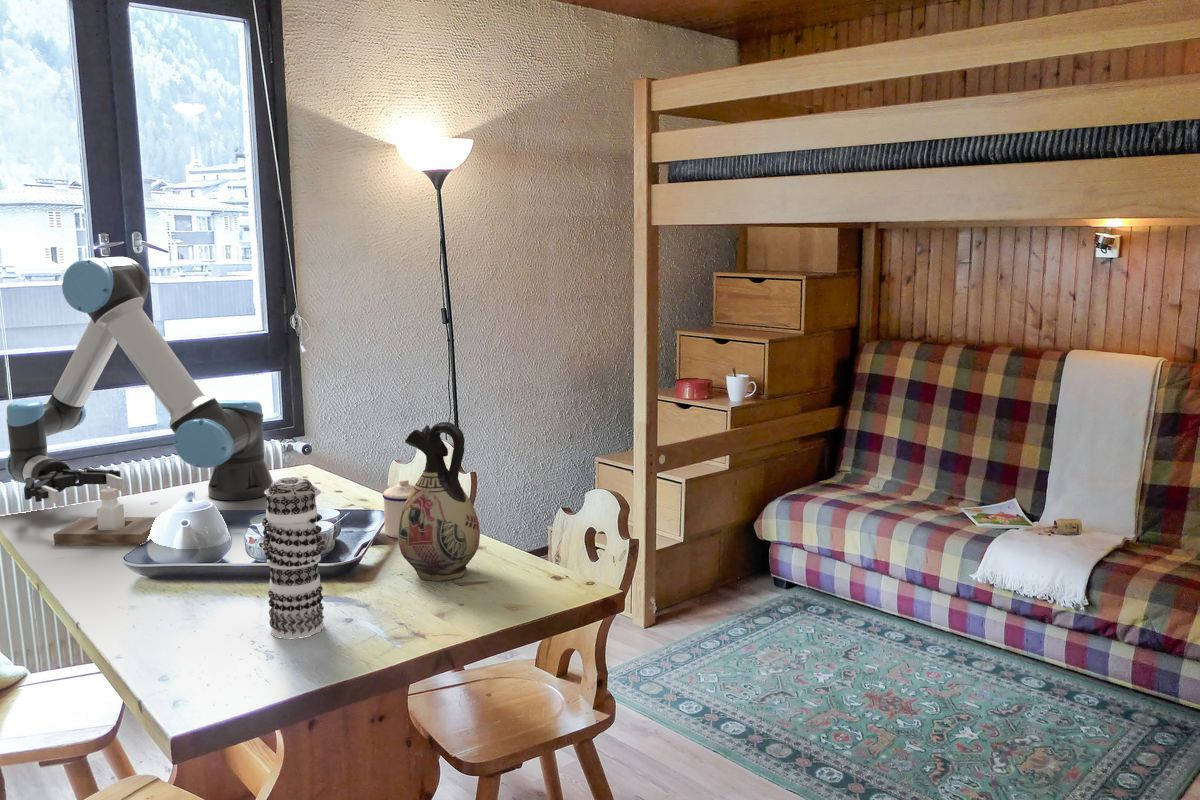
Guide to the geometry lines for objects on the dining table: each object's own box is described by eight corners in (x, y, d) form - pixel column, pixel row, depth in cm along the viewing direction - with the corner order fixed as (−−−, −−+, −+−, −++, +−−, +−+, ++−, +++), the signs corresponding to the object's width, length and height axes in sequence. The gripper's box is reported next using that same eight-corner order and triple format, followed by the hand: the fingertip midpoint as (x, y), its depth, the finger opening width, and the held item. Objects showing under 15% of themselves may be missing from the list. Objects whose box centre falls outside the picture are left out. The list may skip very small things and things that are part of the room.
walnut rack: (167, 528, 215) (166, 517, 215) (142, 545, 203) (141, 534, 203) (83, 527, 215) (83, 516, 214) (54, 545, 203) (53, 533, 203)
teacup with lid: (435, 532, 213) (433, 480, 211) (399, 541, 207) (397, 487, 205) (403, 520, 222) (402, 470, 220) (368, 529, 215) (366, 477, 213)
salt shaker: (126, 531, 211) (123, 487, 209) (115, 536, 207) (111, 492, 205) (108, 530, 211) (105, 487, 209) (97, 535, 207) (93, 492, 206)
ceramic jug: (381, 579, 185) (376, 422, 180) (431, 555, 199) (428, 408, 193) (455, 595, 177) (452, 431, 172) (503, 569, 191) (501, 417, 186)
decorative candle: (304, 613, 169) (298, 470, 164) (337, 627, 163) (331, 480, 158) (256, 629, 162) (248, 481, 157) (289, 645, 156) (281, 491, 151)
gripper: (104, 480, 236) (148, 495, 223) (-11, 501, 217) (29, 520, 204) (102, 449, 235) (146, 463, 222) (-14, 468, 216) (26, 485, 203)
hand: (90, 490), depth 213 cm, fingers open, 13 cm apart
